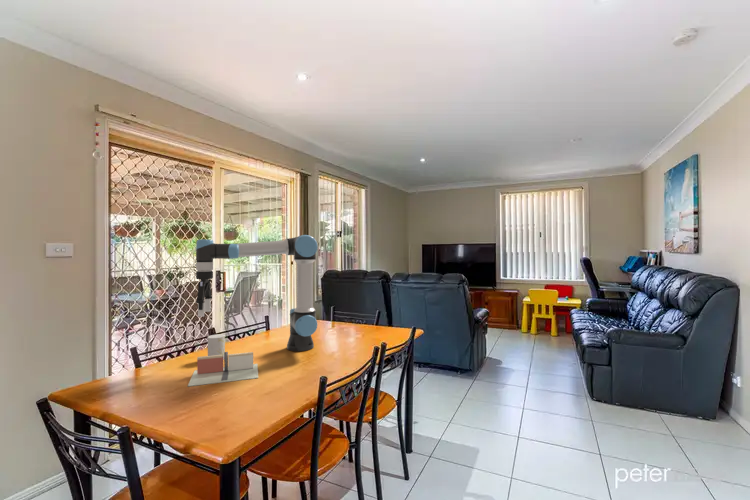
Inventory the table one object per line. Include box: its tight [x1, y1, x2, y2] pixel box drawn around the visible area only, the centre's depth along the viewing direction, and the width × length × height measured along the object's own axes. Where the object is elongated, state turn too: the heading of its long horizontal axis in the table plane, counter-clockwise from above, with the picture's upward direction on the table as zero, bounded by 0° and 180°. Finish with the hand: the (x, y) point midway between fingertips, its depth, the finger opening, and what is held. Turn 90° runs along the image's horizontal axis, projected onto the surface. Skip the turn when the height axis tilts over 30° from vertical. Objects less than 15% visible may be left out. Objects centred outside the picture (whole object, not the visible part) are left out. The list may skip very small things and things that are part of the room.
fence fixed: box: [223, 351, 254, 371], centre depth 166 cm, size 13×2×9 cm, turn 110°
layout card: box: [187, 363, 259, 388], centre depth 160 cm, size 28×20×1 cm
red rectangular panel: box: [196, 355, 224, 374], centre depth 162 cm, size 11×2×7 cm, turn 110°
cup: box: [207, 333, 226, 361], centre depth 183 cm, size 8×8×12 cm
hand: (204, 314), depth 172 cm, fingers open, 13 cm apart
